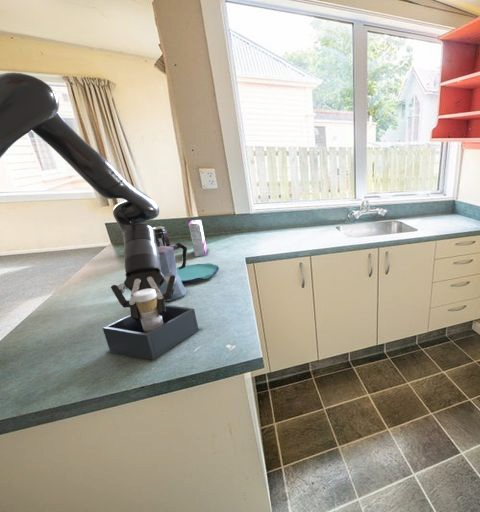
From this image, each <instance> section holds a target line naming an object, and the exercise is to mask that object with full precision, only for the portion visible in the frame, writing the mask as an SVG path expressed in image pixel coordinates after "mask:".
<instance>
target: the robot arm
mask: <svg viewBox="0 0 480 512" xmlns="http://www.w3.org/2000/svg"><path fill="white" fill-rule="evenodd" d="M59 108H60V101H59V97H58V95H57V94H56V91H55V90H54V89H53V88H52V87H51V86H50V85H49V84H48V83H46V82H45V81H44V80H42V79H39V78H38V77H35V76H33V75H30V74H27V73H22V72H14V71H13V72H5V73H1V74H0V159H1V158H2V157H3V156H4V154H6V152H7V151H8V150H9V149H10V148H11V147H12V145H14V144H15V143H16V142H18V141H19V140H20V139H21V138H23V137H24V136H26V135H27V134H28V133H30V132H31V131H32V132H33V133H35V135H37V136H38V137H39V138H40V139H42V140H43V141H44V142H45V143H46V144H47V145H48V146H50V147H51V148H52V149H53V150H54V151H55V152H56V153H57V154H58V155H59V156H60V157H61V158H62V159H63V160H64V161H65V162H66V163H67V164H68V165H69V166H70V167H71V168H72V169H73V170H74V171H75V172H76V174H78V175H79V176H80V177H81V178H82V179H83V180H84V181H85V182H86V183H87V184H89V186H90V187H92V188H93V190H95V191H96V192H97V194H99V195H100V196H101V197H102V198H104V199H106V200H115V199H123V200H124V201H122V202H120V203H117V204H116V205H115V206H114V207H113V210H112V216H113V218H114V220H115V221H116V223H117V225H118V228H119V229H120V231H121V233H122V236H123V237H122V238H123V244H124V245H123V248H124V250H123V260H124V268H125V270H124V271H125V280H124V281H123V282H122V283H121V284H118V285H116V284H112V285H111V286H110V289H111V290H112V292H113V294H114V296H115V298H116V299H117V301H118V303H119V305H121V306H122V307H123V308H124V309H125V308H129V310H130V311H129V313H130V315H131V317H132V318H133V319H135V320H136V321H139V320H140V315H139V312H138V308H137V305H136V302H135V301H134V298H133V294H134V293H135V292H137V291H139V290H143V289H155V291H156V294H157V298H158V300H157V305H158V312H159V315H160V316H162V315H163V313H165V312H166V307H165V305H166V302H167V301H166V300H167V299H171V298H172V297H173V293H174V289H175V285H176V278H175V276H174V275H172V276H170V277H166V276H164V275H163V274H162V271H161V264H160V255H159V251H158V248H157V244H156V237H155V232H154V229H153V228H154V227H152V226H151V225H149V224H146V223H145V222H148V221H152V220H154V219H156V218H157V217H159V215H160V208H159V206H158V204H157V203H156V201H155V200H154V199H153V198H152V197H151V196H149V195H148V194H146V193H144V192H143V191H141V190H140V189H139V188H137V187H136V186H134V185H132V184H131V183H130V182H128V181H127V180H126V179H125V178H124V176H123V175H122V174H121V173H120V172H119V171H118V170H117V169H116V168H115V167H114V165H112V164H111V163H110V162H109V161H108V160H107V159H106V158H105V157H104V156H103V155H102V154H100V152H98V151H97V150H96V149H94V148H93V147H92V146H91V145H90V144H89V143H88V142H87V141H85V140H84V139H83V138H82V137H81V136H80V135H79V134H78V133H77V132H76V131H75V130H74V129H73V128H72V127H71V126H70V125H69V124H68V122H67V121H66V120H65V119H64V118H63V116H62V115H61V114H60V112H59ZM164 281H166V283H167V285H168V286H167V290H166V293H165V294H163V295H162V293H161V292H160V290H159V287H160V286H161V285H162V283H163V282H164ZM126 287H127V288H126ZM125 289H128V290H130V291H131V293H130V299H129V300H127V299H126V297H125V295H124V293H125V291H126V290H125Z"/></svg>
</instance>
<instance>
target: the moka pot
mask: <svg viewBox="0 0 480 512" xmlns="http://www.w3.org/2000/svg"><path fill="white" fill-rule="evenodd" d="M156 244H157V248H158V251H159V255H160V264H161V271H162V274H163V275H164V276H166V277H170V276H172V275H174V276H175V278H176V285H175V289H174V293H173V297H172V298H171V299H167V300H166V301H165V302H171V301H174V300H175V301H176V300H178V299H180V298H182V297H184V296H185V295H186V294H187V290H186V288H185V286H184V284H183V282H182V281H181V279H180V277H179V276H178V274H177V267H178V269H179V270H180V269H183V268H185V265H186V264H187V252H188V247H187V246H185V245H184V244H182V243H181V242H177V243H174V244H170V246H161V247H158V243H156ZM179 249H182V263H181V266H177V263H176V262H177V261H176V256H175V251H177V250H179ZM167 286H168V285H167V283H166V281H164V282H163V283H162V285H161V286H160V287H159V290H160V292H161V293H162V295H163V294H165V293H166V290H167ZM157 300H158V298H157Z"/></svg>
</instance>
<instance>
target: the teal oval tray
mask: <svg viewBox="0 0 480 512" xmlns="http://www.w3.org/2000/svg"><path fill="white" fill-rule="evenodd" d="M178 267H179V266H176V268H177V274H178V276H179V277H180V279H181V281H182V283H187V282H194V281H198V280H203V279H204V280H207V279H209V278H212V277H213V276H214V275H215V274H217V272H218V271H219V270H220V266H218V264H215V263H210V262H208V263H197V264H187V265H185V268H183V269H180V270H179V269H178ZM125 289H128V288H127V287H126V288H125Z"/></svg>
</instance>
